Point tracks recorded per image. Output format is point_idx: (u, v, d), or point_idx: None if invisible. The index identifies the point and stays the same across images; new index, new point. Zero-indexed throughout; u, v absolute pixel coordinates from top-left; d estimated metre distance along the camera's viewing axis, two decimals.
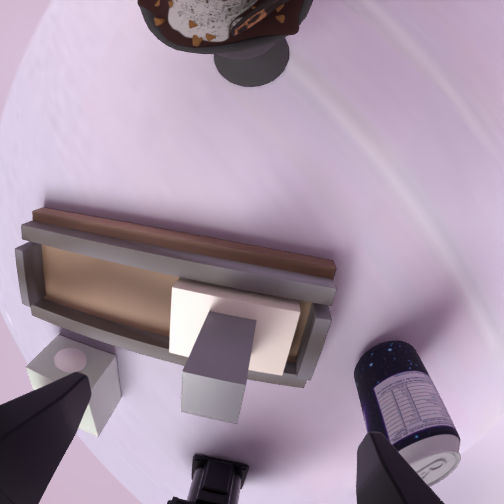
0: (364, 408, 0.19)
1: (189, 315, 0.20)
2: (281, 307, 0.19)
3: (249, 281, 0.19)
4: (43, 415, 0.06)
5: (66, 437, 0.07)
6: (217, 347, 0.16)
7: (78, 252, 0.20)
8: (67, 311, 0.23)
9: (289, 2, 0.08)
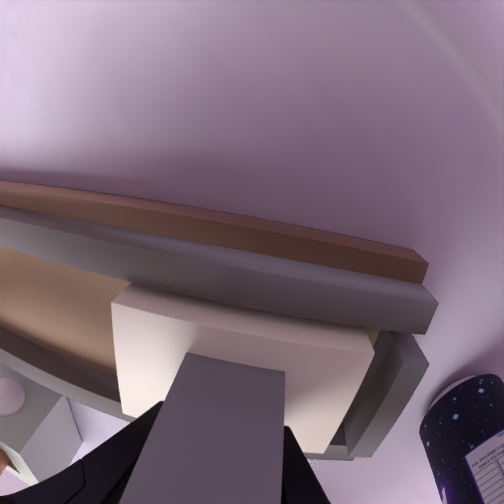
0: (445, 484, 0.09)
1: (149, 357, 0.09)
2: (338, 345, 0.09)
3: (271, 290, 0.09)
4: None
5: None
6: (200, 454, 0.06)
7: None
8: None
9: None
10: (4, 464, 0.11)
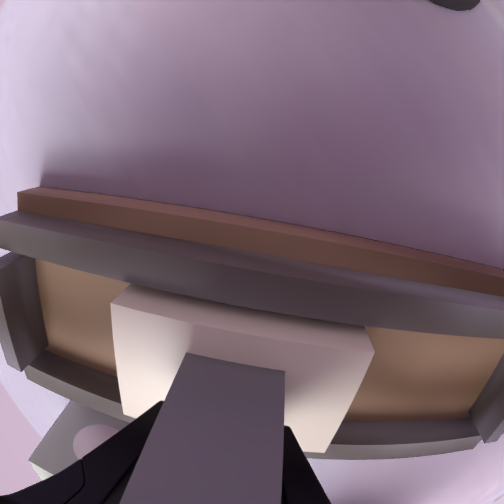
0: None
1: (149, 358, 0.09)
2: (337, 344, 0.09)
3: (479, 320, 0.09)
4: None
5: None
6: (200, 454, 0.06)
7: (118, 277, 0.09)
8: (91, 378, 0.12)
9: None
10: None
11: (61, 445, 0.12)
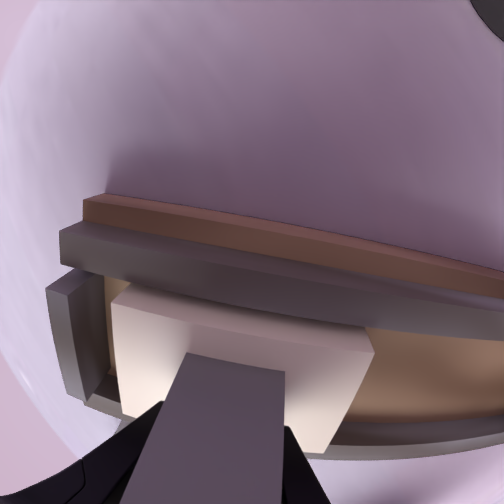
0: None
1: (148, 357, 0.09)
2: (338, 345, 0.09)
3: None
4: None
5: None
6: (200, 454, 0.06)
7: (237, 302, 0.09)
8: None
9: None
10: None
11: None
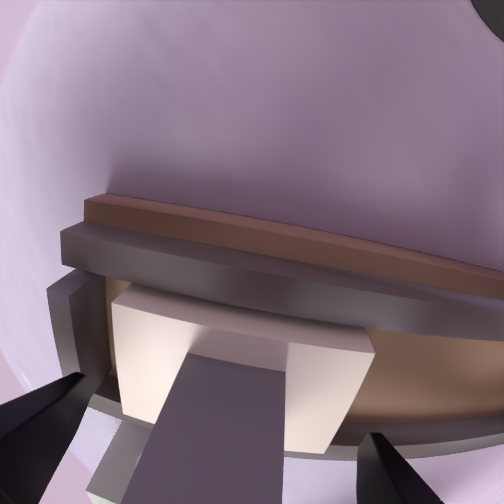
0: None
1: (149, 358, 0.09)
2: (338, 345, 0.09)
3: None
4: (43, 415, 0.06)
5: (66, 437, 0.07)
6: (200, 454, 0.06)
7: (239, 303, 0.09)
8: None
9: None
10: None
11: (121, 471, 0.12)
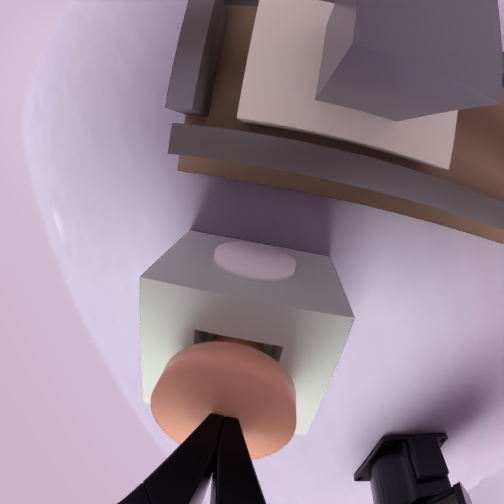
0: None
1: (289, 33, 0.09)
2: None
3: None
4: (203, 474, 0.06)
5: (207, 485, 0.07)
6: None
7: None
8: None
9: None
10: None
11: (193, 261, 0.12)
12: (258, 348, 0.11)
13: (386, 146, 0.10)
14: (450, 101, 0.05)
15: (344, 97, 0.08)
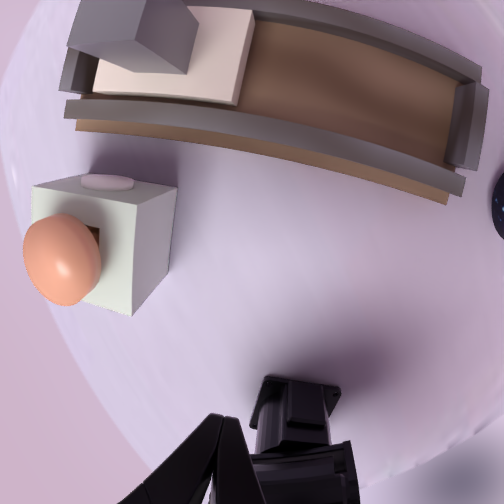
0: None
1: None
2: (230, 9, 0.12)
3: (404, 37, 0.12)
4: (203, 474, 0.06)
5: (207, 485, 0.07)
6: None
7: None
8: None
9: None
10: None
11: (68, 182, 0.16)
12: (98, 234, 0.15)
13: (178, 93, 0.14)
14: (139, 49, 0.09)
15: (132, 66, 0.12)
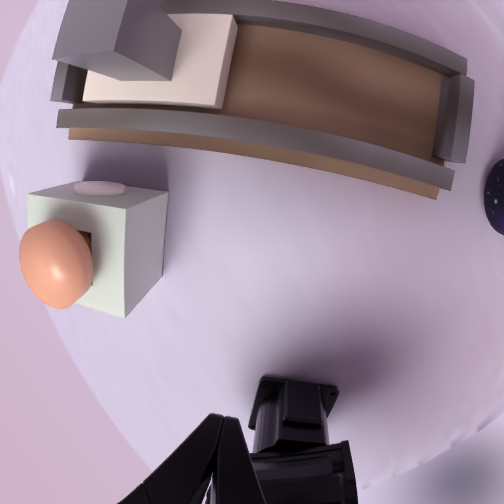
0: None
1: None
2: (211, 15, 0.13)
3: (385, 32, 0.13)
4: (203, 474, 0.06)
5: (207, 485, 0.07)
6: None
7: None
8: None
9: None
10: None
11: (62, 189, 0.16)
12: (91, 239, 0.16)
13: (163, 99, 0.14)
14: (120, 59, 0.09)
15: (118, 75, 0.12)
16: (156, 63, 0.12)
